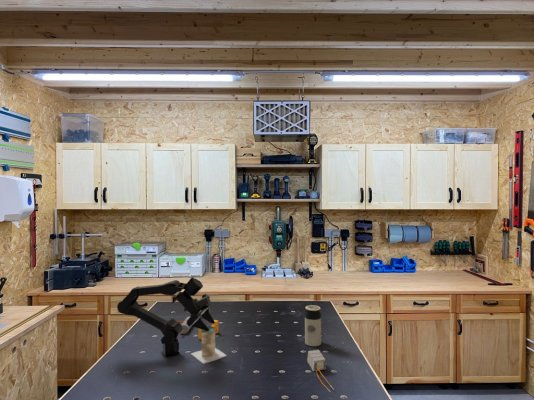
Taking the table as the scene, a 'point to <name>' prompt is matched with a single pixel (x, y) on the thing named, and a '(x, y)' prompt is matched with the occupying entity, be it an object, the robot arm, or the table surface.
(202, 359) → the grey pad
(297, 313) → the table surface
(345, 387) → the table surface
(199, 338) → the pipe clamp
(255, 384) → the table surface
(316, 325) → the travel mug
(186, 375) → the table surface
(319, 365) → the electrical component
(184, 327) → the motor
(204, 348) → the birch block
